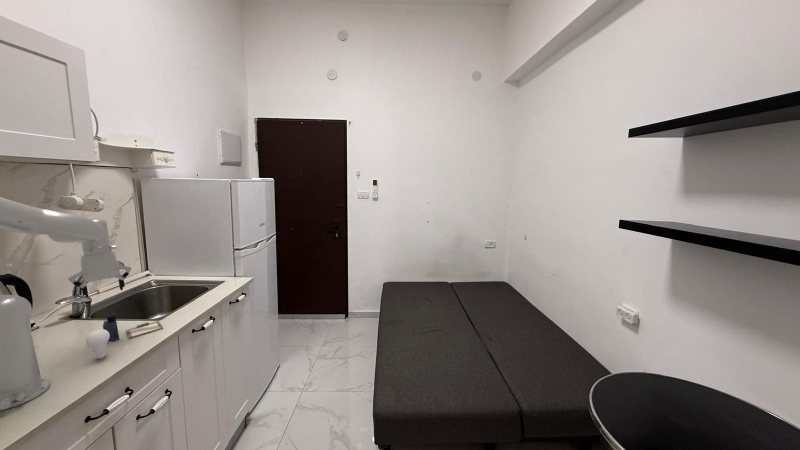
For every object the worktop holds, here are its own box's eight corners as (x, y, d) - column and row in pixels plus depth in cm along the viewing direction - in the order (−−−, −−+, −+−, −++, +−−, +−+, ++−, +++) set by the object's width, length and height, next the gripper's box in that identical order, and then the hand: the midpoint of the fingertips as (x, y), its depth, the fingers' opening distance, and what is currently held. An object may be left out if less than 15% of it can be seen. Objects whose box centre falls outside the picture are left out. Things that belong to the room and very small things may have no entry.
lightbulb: (101, 363, 103) (96, 334, 101) (83, 363, 103) (78, 334, 101) (117, 353, 109) (113, 325, 107) (101, 353, 109) (96, 325, 107)
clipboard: (163, 328, 127) (162, 325, 127) (129, 339, 119) (128, 336, 118) (158, 322, 133) (158, 319, 132) (126, 331, 124) (125, 328, 124)
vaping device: (113, 342, 116) (109, 314, 115) (103, 340, 117) (98, 312, 116) (121, 338, 119) (116, 311, 117) (111, 337, 120) (106, 310, 118)
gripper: (126, 245, 121) (132, 284, 124) (63, 253, 108) (71, 296, 111) (129, 248, 116) (135, 288, 119) (63, 257, 104) (72, 302, 106)
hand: (104, 292), depth 115 cm, fingers open, 9 cm apart
